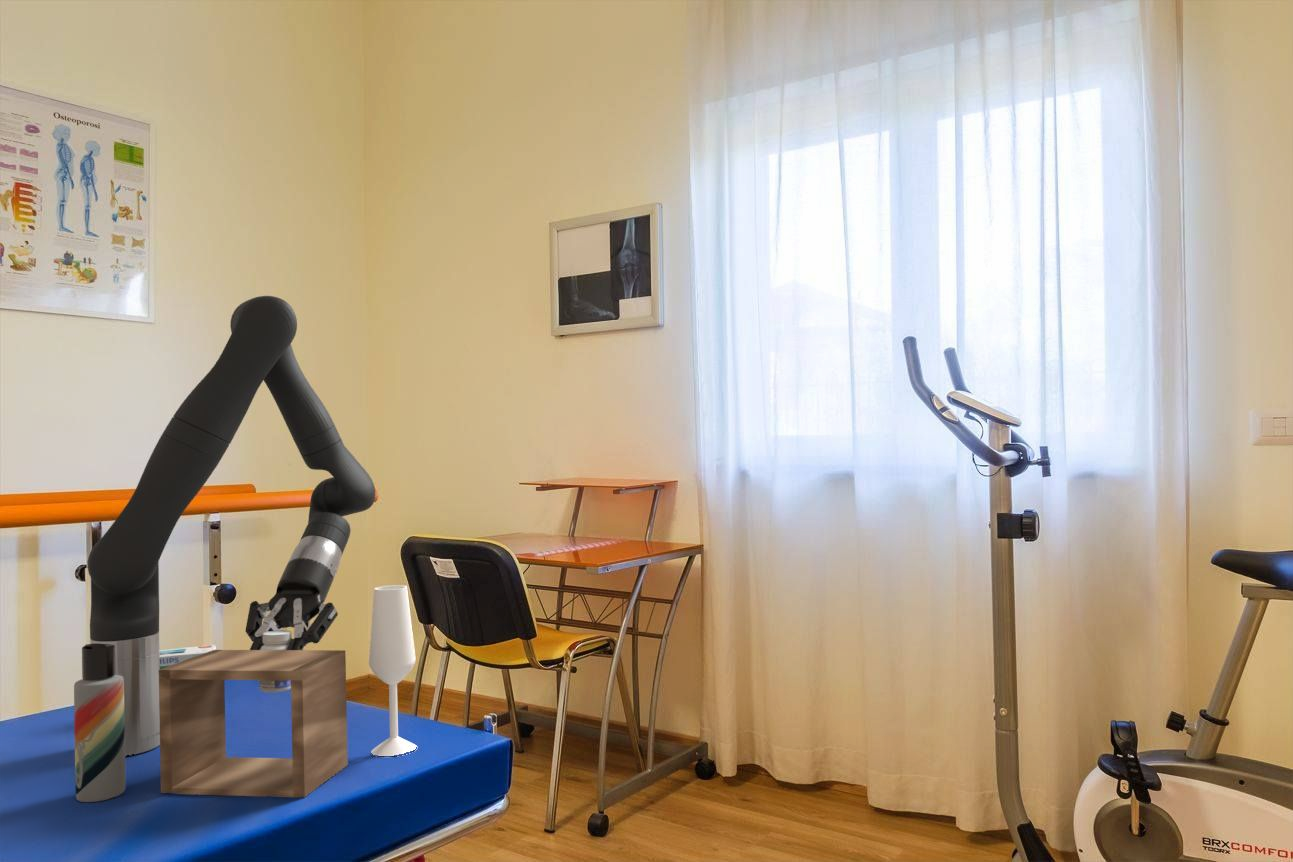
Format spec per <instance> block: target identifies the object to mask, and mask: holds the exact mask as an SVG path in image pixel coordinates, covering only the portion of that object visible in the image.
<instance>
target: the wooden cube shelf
mask: <svg viewBox="0 0 1293 862" xmlns="http://www.w3.org/2000/svg"><path fill="white" fill-rule="evenodd" d="M346 659H347V658H346V650H338V649H337V650H330V649H329V650H328V649H327V650H323V649H321V650H320V649H319V650H317V649H315V650H314V649H313V650H310V649H308V650H305V649H304V650H250V649H216V650H212V651H209V652H207V653H204V654H201V655H198V656H196V657H193V658H190V659H187V660H185V661H182V662H179V663H177V664H174V665H171V666H168V667H166V668H163V669H160V670H159V713H160V745H159V751H160V752H159V754H160V755H159V756H160V757H159V758H160V759H159V760H160V761H159V765H160V770H159V771H160V794H161V793H177V794H176V795H195V796H197V795H198V796H199V795H201V796H206V795H207V796H232V797H233V796H234V797H235V796H236V797H237V796H238V797H240V796H241V797H266V796H275V797H274V798H301V797H305V798H306V797H307V795H308V794H309V793H310V794H311V792H312V791H313V790H314V791H316V790H317V789H318V788H319V787H318V786H320V785H321V784H322V785H324V784H325V783H326V782H328V781H329V780H330V779H331V777H332V776H333V777H334V776H336V775H337V774H338V773H340V772H341V771H342V770H344V769H345V768H346V767H348V766H347V765H349V761H348V758H349V757H348V756H349V755H348V752H349V751H348V713H347V712H348V711H347V705H348V704H347V668H346V667H347V665H346V664H347V663H346ZM225 680H226V681H260V680H291V689H290V701H291V703H290V705H291V706H290V707H291V708H290V709H291V714H290V715H291V752H292V753H291V754H292V757H291V758H289V757H287V758H285V757H239V756H238V757H237V756H236V757H235V756H234V757H233V756H227V750H226V749H227V745H226V744H227V742H226V738H227V737H226V733H227V732H226V693H225V692H226V691H225V690H226V689H225V684H226V683H225ZM344 767H345V768H344ZM343 768H344V769H343ZM339 771H340V772H339ZM335 774H336V775H335ZM333 777H332V778H333ZM328 779H329V780H328ZM327 780H328V781H327ZM325 781H326V782H325ZM324 782H325V783H324ZM323 783H324V784H323ZM322 785H321V786H322ZM321 786H320V787H321ZM317 787H318V788H317ZM316 788H317V789H316ZM315 789H316V790H315ZM314 791H313V792H314ZM313 792H312V793H313ZM196 794H197V795H196ZM310 794H309V795H310ZM309 795H308V796H309Z"/></svg>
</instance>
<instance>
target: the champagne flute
mask: <svg viewBox="0 0 1293 862" xmlns="http://www.w3.org/2000/svg"><path fill="white" fill-rule="evenodd" d="M410 608H411V607H410V601H409V593H408V586H407V585H405V584H404V585H402V584H400V585H399V584H396V585H394V584H393V585H390V584H389V585H382V586H377V587H374V588H373V601H372V616H371V628H370V642H369V644H370V645H369V654H368V655H369V658H368V665H369V666H368V667H369V669H370V670H371V672H372V673H373V674H374V675H375V676H377V678H379V680H380V681H382V682H383V683H384V684H387V685H388V703H389V704H388V707H389V710H388V711H389V737H388V738H387V739H385V740H384V741H382V742H381V743H380V744H378V745H376V746H375V747H374V748H373V749H371V751H370V753H372V754H373V755H372V754H371V755H372V756H374V755H378V756H394V755H399V754H404V753H406V752H410V751H413V750H415V749H416V747H417V748H418V746H417V745H416V744H415V743H413V742H411V741H408V740H407V739H404V738H402V737H401V736H399V719H398V718H399V717H398V716H399V715H398V714H399V713H398V708H399V707H398V684H399V683H401V682H402V681H403V680H404V679H405V678H406V676H408V675H409V673H411V671H412V670H413V668H414V666H415V663H416V659H417V657H416V652H415V651H416V650H415V649H416V648H415V642H414V641H415V640H414V635H413V627H412V625H413V624H412V616H411V609H410ZM416 750H417V749H416ZM416 750H415V751H416Z"/></svg>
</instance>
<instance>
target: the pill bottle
mask: <svg viewBox="0 0 1293 862" xmlns="http://www.w3.org/2000/svg"><path fill="white" fill-rule="evenodd" d="M291 639H293V638H292V631H291V630H286V629H284V630H283V629H282V630H277V631H269V632H268V631H267V632H265V633H263V643H264V645H263V646H262V647H261V648H260V650H287V647H288V645H289V643H290V640H291ZM259 690H260V691H261V692H263V693H279V692H280V693H281V692H286V691H289V690H291V680H259Z"/></svg>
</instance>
